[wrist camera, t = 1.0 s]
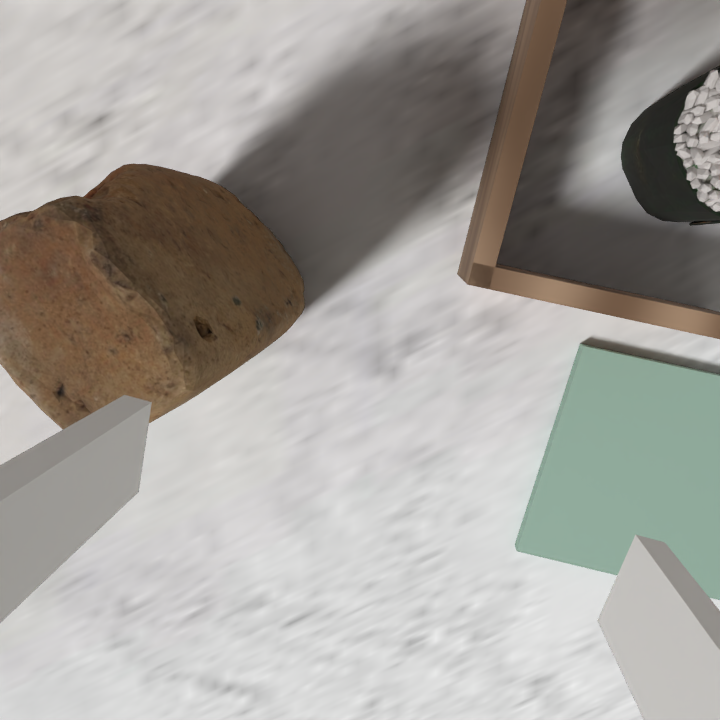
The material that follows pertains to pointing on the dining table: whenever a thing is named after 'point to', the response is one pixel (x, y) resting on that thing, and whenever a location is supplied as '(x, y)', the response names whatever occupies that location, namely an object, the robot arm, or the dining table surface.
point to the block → (139, 292)
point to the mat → (630, 467)
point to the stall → (500, 189)
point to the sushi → (678, 154)
